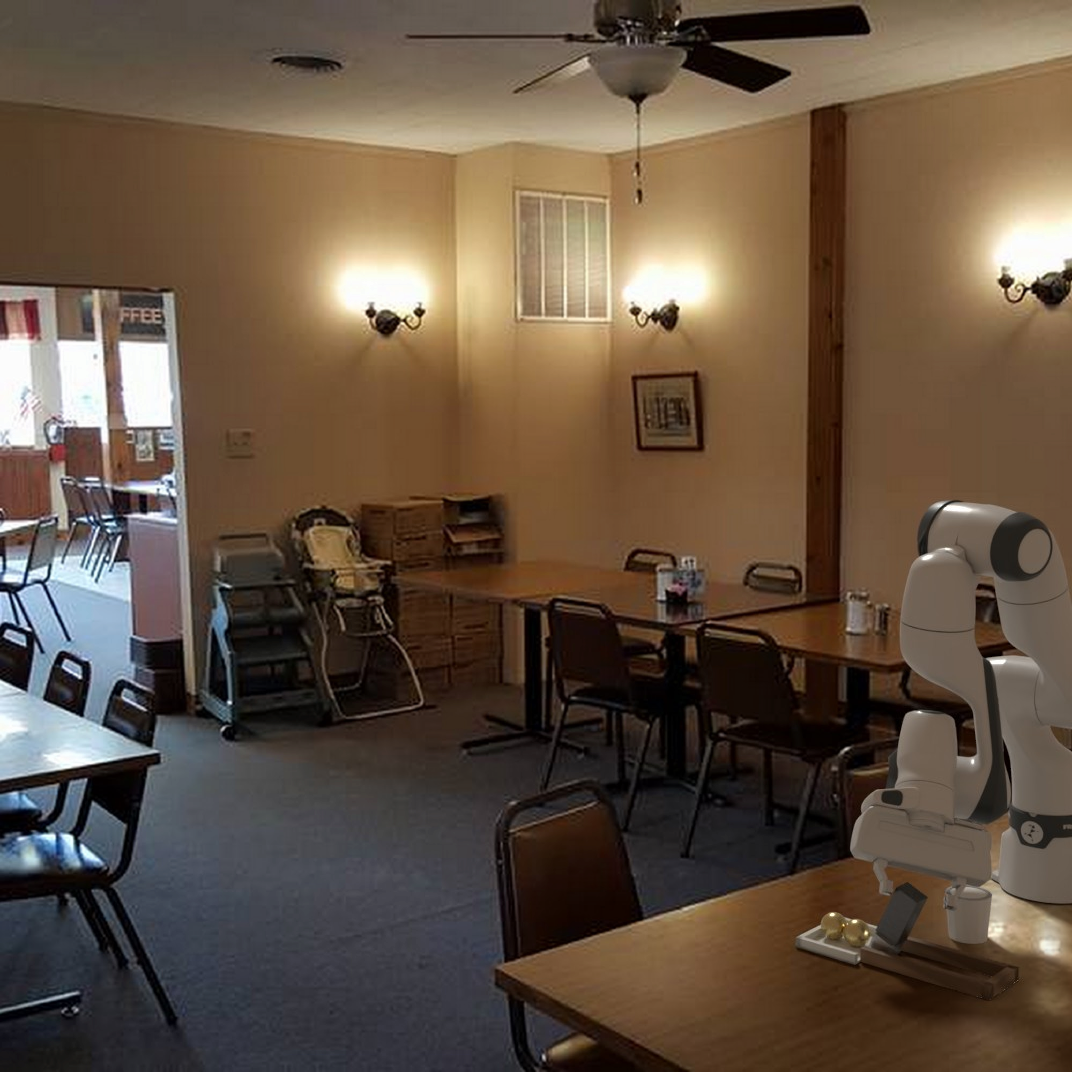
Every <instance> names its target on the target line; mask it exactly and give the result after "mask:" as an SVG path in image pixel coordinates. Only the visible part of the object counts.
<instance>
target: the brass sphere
mask: <svg viewBox="0 0 1072 1072" xmlns="http://www.w3.org/2000/svg"><path fill="white" fill-rule="evenodd" d="M851 919H852V918H851ZM866 923H867V922H865V921H864V920H862V919H859V918H853V919H852V920H850V921H848V922H847V923H846V924H845V926H844V929H843V935H844V938H845V940H846V941H847V942H848V943H849V944H850V945H852V946H855V947H861V946H864V945H865V944H867V942H868V941H869V939H870V936H871V932H870V928H869V926H868V925H867V924H868V923H867V924H866Z"/></svg>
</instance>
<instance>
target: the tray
mask: <svg viewBox="0 0 1072 1072" xmlns="http://www.w3.org/2000/svg"><path fill="white" fill-rule="evenodd" d="M844 918H845V919H846V921H847V922H848V921H850V920H852V918H849V917H845V916H844ZM865 923H866V924H867V925H868V926H869V928H870V932H871V936H870V939H869V941H868V942H867V944H865V945H864V946H866V947H868V945H869V943H870V941H871V939H872V937H873V935H874V933H876V931H875V930H876V928H877V926H878V925H873V924H870V923H867V922H865ZM864 946H861V947H855V946H852V945H850V944H849V943H848V942H847V941H846V940H845V938H844V936H843V937H842V938H840V939H836V940H834V939H830V938H828V937H826V936H825V935H824V933H823V932H822V930H821V924H820V925H817V926H816V927H814V928H811V929H809V930H808V931H806V932H804V933H801V934H800V935H798V936H795V948H798V949H801V950H805V951H808V952H811V953H815V954H818V955H821V956H825V957H828V958H831V959H834V960H838V961H840V962H844V963H847V964H851V965H854V966H855V965H857V964H859V963H861V962H860V948H862V947H864Z"/></svg>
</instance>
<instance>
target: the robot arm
mask: <svg viewBox="0 0 1072 1072" xmlns="http://www.w3.org/2000/svg"><path fill="white" fill-rule="evenodd" d="M916 539H917V540H916V541H917V545H916V546H917V553H918V557H917V558H916V559H915V560H914V561H913V563H912V564H911V566H910V568H909V572H908V574H907V578H906V583H905V586H904V591H903V596H902V602H901V610H900V620H899V647H900V648H899V649H900V653H901V655H902V658H903V660H904V661H905V663H906V664H907V665H908V666H909V667H910V668H911V669H912V670H913V671H914V672H915V673H916V674H918V675H919V676H920V677H922V678H923V679H925V680H926V681H929V682H930V683H932V684H935V685H937V686H940V687H942V688H944V689H945V690H948V691H951V692H952V693H953V694H956V695H957V696H959V697H960V698H962V699H963V700H964V701H965V702H966V703H967V704H968V706H969V707H970V708H971V710H972V713H973V723H974V731H975V740H976V741H975V742H976V743H975V744H976V754H975V755H973V756H960V755H958V739H957V738H958V737H957V727H956V723H955V722H956V721H955V719H954V718H953V716H951V715H950V714H947V713H946V712H945V713H944V712H942V711H937V710H930V709H929V710H928V709H917V710H915V709H914V710H911V711H908V712H907V713H905V715H904V717H903V721H902V725H901V730H900V734H899V738H898V739H899V740H898V745H897V748H896V749H895V750H894V751H893V752H892V753H891V754H890V755H889V756H888V758H887V761H888V772H887V778H886V782H885V788H884V789H882V788H881V789H874V791H873V792H871V793H870V794H868V795H867V797H866V798H864V800H863V802H862V803H861V807H860V810H861V815H859V817H858V818H857V819H856V820H855V823H854V825H853V830H852V834H851V839H850V845H849V846H850V847H849V848H850V849H849V850H850V852H851V855H852V856H853V857H854V858H855V859H857V860H862V861H865V862H869V863H873V869H872V871H873V872H874V874H875V876H876V879H877V880H878V883H879V888H878V889H879V890H878V891H879V892H878V893H879V894H881V895H885V896H891V895H893V893H894V888H893V887H894V881H893V880H889V878H888V875H887V873H886V871H885V870H886V868H888V867H891V868H895V869H900V870H903V871H908V872H912V873H917V874H921V875H925V876H929V877H933V878H938V879H941V880H946V881H951V886H952V888H954V889H955V888H956V889H955V890H954V892H953V893H952V895H949V894H948V895H946V896H945V895H944V896H943V898H942V899H943V905H942V908H943V909H944V910H946V909H948V910H952V911H954V910H956V909H957V903H958V897H959V895H960V894H961V893H962V891H963V890H964V889H965V887H966V885H967V886H975V887H979V888H981V887H983V885H986V884H987V883H988V882H989V881H990V880H991V879H992V880H993V881H995V882H997V883H999V885H1000V887H1001V888H1002V889H1003V891H1005V892H1007V893H1009V894H1010V895H1013V896H1016V897H1018V898H1022V899H1025V900H1029V901H1033V902H1034V901H1035V902H1041V903H1048V904H1050V903H1051V904H1072V751H1071V750H1070V749H1068V748H1067V747H1065V746H1064V745H1063V744H1062V743H1061V742H1059V740H1058V739H1057V738H1056V736H1055V735H1054V733H1053V731H1052V728H1051V727H1055V728H1056V727H1057V728H1063V729H1068V730H1069V729H1071V730H1072V600H1071V599H1072V598H1071V593H1070V588H1069V582H1068V581H1069V580H1068V577H1067V572H1066V571H1067V570H1066V566H1065V563H1064V559H1063V557H1062V556H1063V555H1062V554H1061V553H1062V552H1061V550H1060V547H1059V545H1058V542H1057V539H1056V537H1055V535H1054V533H1053V532H1052V531H1051V530H1050V529H1049V528H1048V526H1047V525H1046V524H1045V523H1044V522H1043V521H1042V520H1040V519H1039V518H1037V517H1035V516H1034V515H1031V514H1030V513H1026V512H1022V511H1014V510H1013V509H1009V508H1005V507H1004V506H999V505H995V504H989V503H988V504H984V503H976V502H975V503H974V502H967V501H966V502H965V501H963V500H961V499H960V500H959V499H947V500H941V501H937V502H935V503H933V504H931V505H930V506H929V507H928V508H927V509H926V511H925V512H924V514H923V516H922V517H921V519H920V521H919V523H918V530H917V537H916ZM979 575H980V576H983V577H990V578H993V584H994V589H995V596H996V601H997V608H998V613H999V618H1000V625H1001V630H1002V633H1003V635H1004V637H1005V638H1006V639H1005V640H1007V641H1008V643H1010V645H1012V646H1013V647H1015V648H1016V649H1017V650H1019V651H1021V652H1022V653H1024V654H1025V655H1026V656H1022V655H1001V656H992V657H984V656H982V654H981V652H980V650H979V648H978V646H977V642H976V637H975V630H976V629H975V628H976V612H977V611H976V607H977V606H976V590H977V587H978V585H979V583H980V581H981V579H982V578H981V577H979ZM1004 744H1005V746H1006V749H1007V752H1008V756H1009V760H1010V768H1011V769H1010V771H1011V782H1010V779H1009V773H1008V771H1007V767H1006V763H1005V758H1004V757H1005V755H1004V751H1005V750H1004ZM1007 813H1008V815H1007V816H1008V825H1009V828H1008V829H1006V830H1005V831H1003V832H1002V834H1001V837H1000V838H1001V839H1000V851H999V858H998V859H999V862H998V869H995V870H993V871H992V856H991V850H992V846H993V845H992V843H993V841H992V840H993V837H992V834H991V833H990V831H989V830H988V829H987V828H985V827H984V825H987V826H988V825H990V824H992V823H994V822H995V821H998V820H999V819H1000V818H1002V817H1003V816H1004V815H1006V814H1007Z"/></svg>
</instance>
